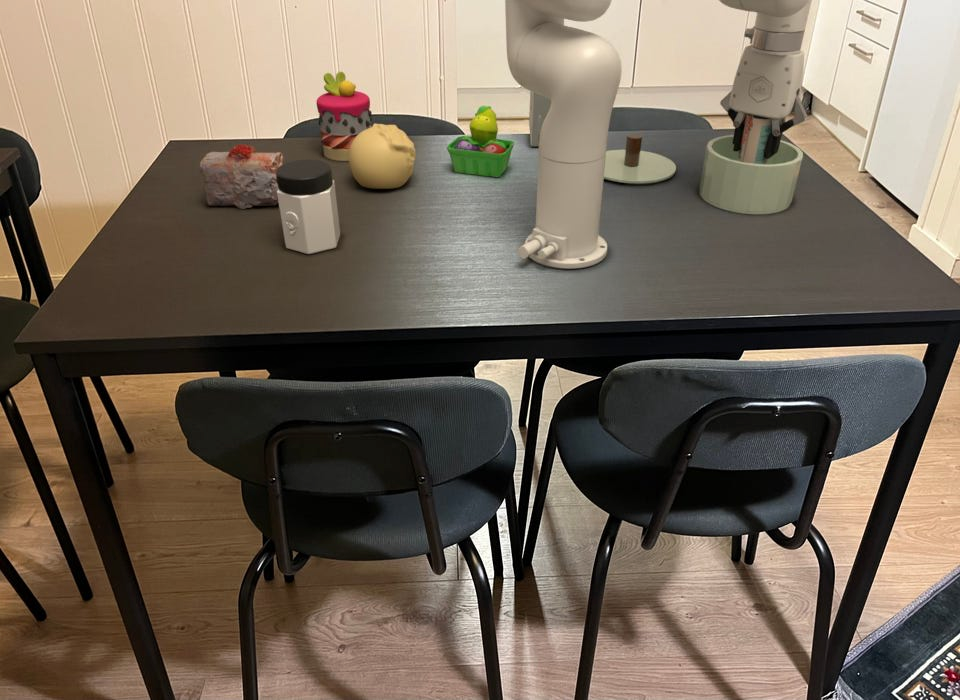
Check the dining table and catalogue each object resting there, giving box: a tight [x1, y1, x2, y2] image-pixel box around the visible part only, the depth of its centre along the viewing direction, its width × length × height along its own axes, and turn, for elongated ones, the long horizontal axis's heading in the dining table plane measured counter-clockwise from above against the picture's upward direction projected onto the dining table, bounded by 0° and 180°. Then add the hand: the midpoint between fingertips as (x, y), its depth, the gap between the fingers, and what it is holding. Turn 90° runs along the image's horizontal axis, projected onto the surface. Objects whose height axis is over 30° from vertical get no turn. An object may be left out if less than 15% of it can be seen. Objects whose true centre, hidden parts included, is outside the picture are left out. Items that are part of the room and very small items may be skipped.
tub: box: [698, 134, 804, 215], centre depth 131 cm, size 16×16×8 cm
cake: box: [316, 71, 373, 162], centre depth 148 cm, size 10×11×15 cm
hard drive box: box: [528, 90, 551, 147], centre depth 155 cm, size 16×8×20 cm, turn 179°
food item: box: [199, 144, 284, 210], centre depth 129 cm, size 14×8×10 cm, turn 91°
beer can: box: [738, 114, 772, 164], centre depth 127 cm, size 5×5×12 cm
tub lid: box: [604, 133, 677, 185], centre depth 142 cm, size 17×17×7 cm
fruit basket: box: [446, 105, 515, 178], centre depth 141 cm, size 11×9×11 cm
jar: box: [276, 159, 341, 255], centre depth 115 cm, size 9×8×12 cm
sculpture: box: [348, 123, 417, 190], centre depth 136 cm, size 12×12×11 cm
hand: (753, 151), depth 129 cm, fingers closed on beer can, 4 cm apart
